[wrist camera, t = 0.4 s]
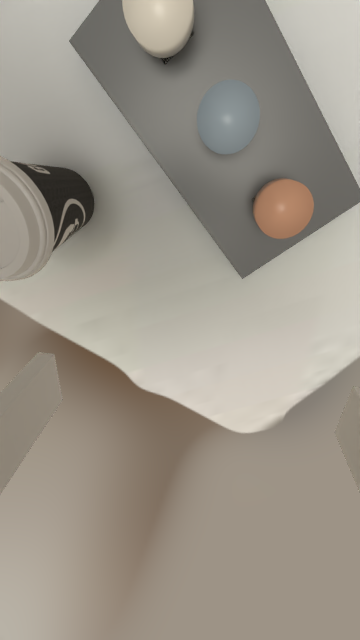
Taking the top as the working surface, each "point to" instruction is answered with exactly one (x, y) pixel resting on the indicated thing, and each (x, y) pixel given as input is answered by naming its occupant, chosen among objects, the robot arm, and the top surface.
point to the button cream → (160, 24)
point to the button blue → (228, 116)
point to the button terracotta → (283, 208)
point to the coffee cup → (38, 214)
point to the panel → (182, 107)
